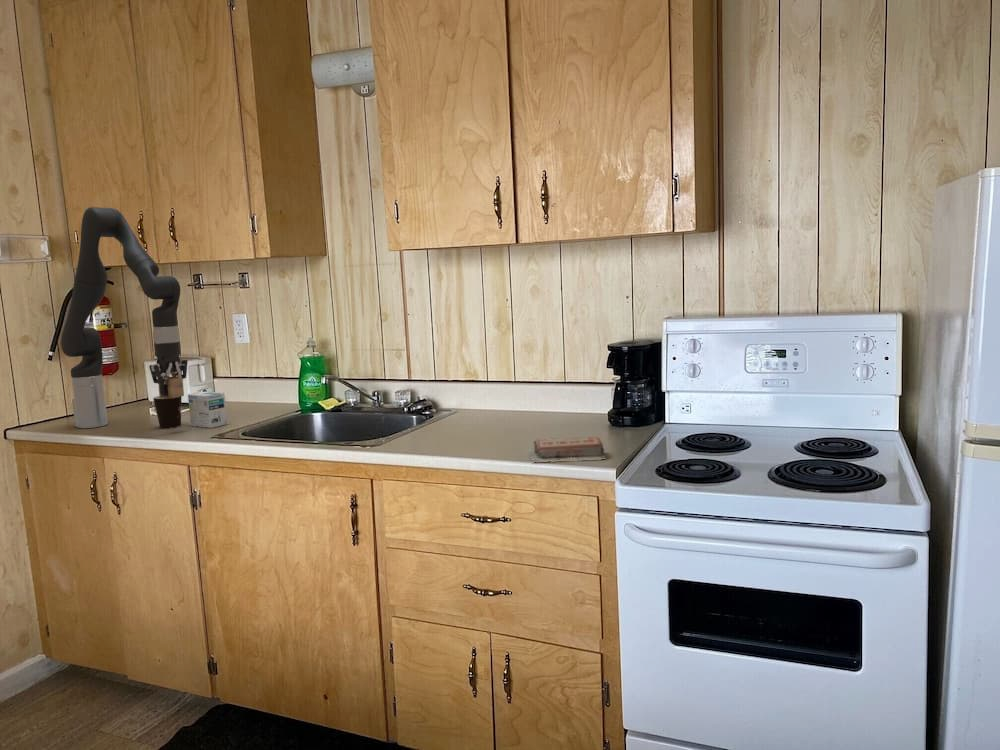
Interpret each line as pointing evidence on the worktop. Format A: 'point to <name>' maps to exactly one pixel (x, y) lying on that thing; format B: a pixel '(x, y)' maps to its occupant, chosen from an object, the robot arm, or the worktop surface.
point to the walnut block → (174, 387)
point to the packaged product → (567, 448)
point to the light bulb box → (207, 409)
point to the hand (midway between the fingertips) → (171, 394)
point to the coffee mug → (168, 411)
